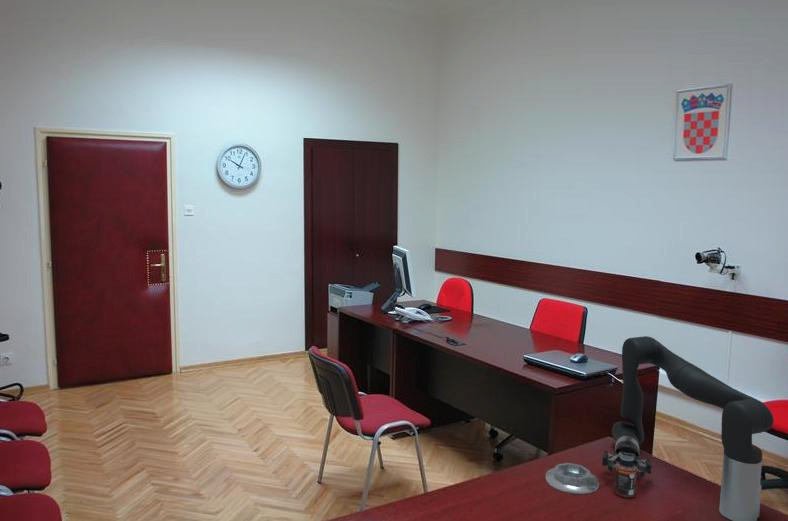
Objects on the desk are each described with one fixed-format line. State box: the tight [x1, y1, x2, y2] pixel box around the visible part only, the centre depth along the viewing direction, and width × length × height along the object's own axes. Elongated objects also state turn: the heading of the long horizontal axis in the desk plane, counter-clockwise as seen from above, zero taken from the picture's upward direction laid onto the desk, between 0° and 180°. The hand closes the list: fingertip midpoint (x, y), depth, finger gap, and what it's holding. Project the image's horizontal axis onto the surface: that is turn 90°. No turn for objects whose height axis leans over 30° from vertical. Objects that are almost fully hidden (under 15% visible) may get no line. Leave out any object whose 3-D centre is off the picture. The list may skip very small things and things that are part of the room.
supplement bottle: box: [614, 455, 638, 499], centre depth 174 cm, size 6×6×11 cm
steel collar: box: [545, 462, 600, 495], centre depth 182 cm, size 16×16×4 cm
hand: (626, 472), depth 176 cm, fingers open, 8 cm apart
